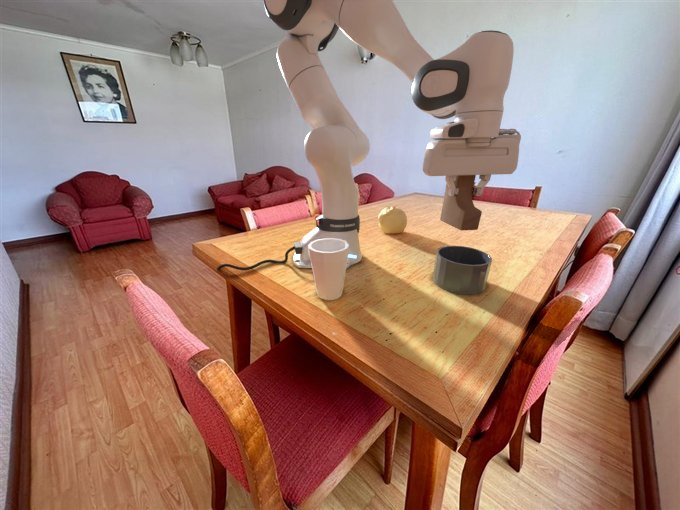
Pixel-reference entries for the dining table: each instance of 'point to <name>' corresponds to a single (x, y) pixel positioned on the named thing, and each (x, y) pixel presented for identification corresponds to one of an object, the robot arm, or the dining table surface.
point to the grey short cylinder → (461, 269)
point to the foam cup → (329, 266)
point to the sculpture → (392, 220)
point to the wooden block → (461, 205)
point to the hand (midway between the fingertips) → (464, 195)
